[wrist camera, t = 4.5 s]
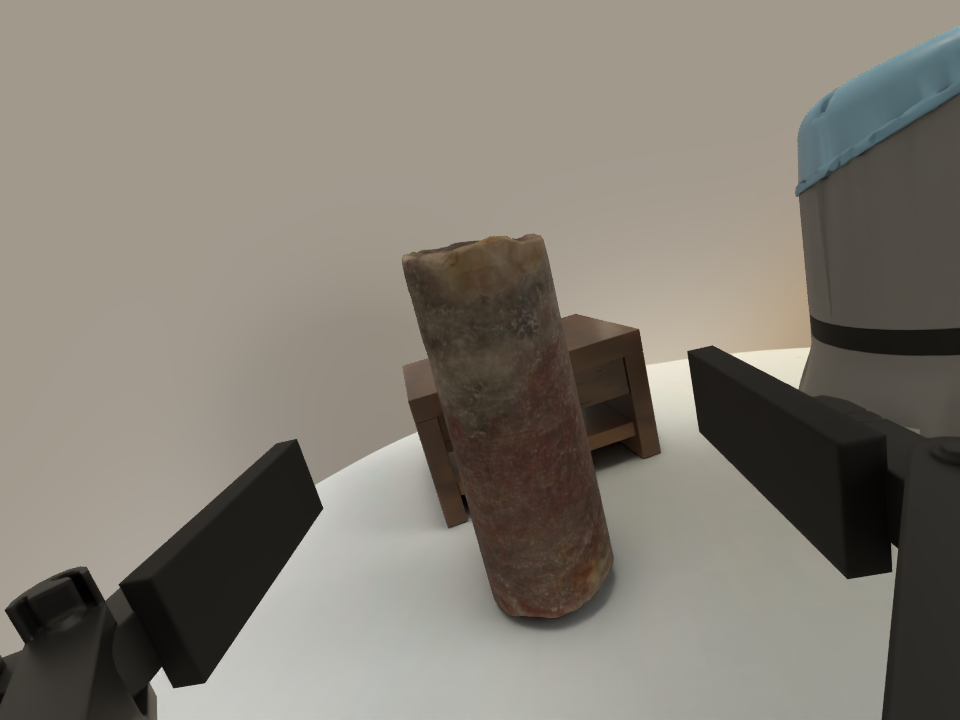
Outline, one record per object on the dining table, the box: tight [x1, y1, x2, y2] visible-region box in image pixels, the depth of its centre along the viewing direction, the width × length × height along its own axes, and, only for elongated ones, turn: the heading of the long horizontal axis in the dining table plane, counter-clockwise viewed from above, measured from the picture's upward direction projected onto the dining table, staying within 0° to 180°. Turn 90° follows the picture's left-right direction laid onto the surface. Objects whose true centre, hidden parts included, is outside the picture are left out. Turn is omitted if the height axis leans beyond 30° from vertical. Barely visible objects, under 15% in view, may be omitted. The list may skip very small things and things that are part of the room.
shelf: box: [403, 314, 661, 528], centre depth 40 cm, size 18×12×10 cm, turn 101°
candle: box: [402, 234, 613, 618], centre depth 25 cm, size 8×7×20 cm
